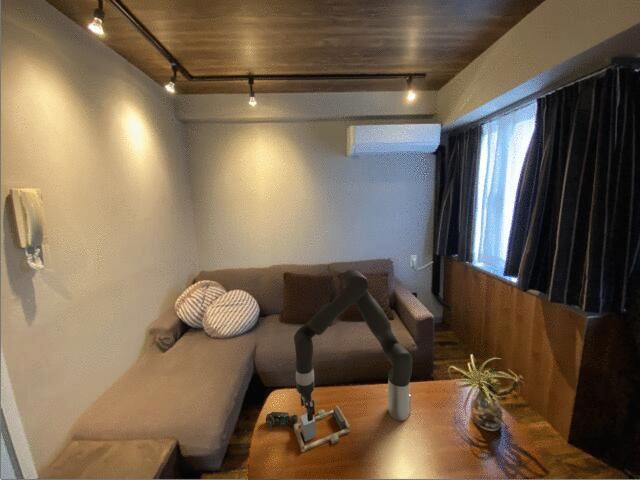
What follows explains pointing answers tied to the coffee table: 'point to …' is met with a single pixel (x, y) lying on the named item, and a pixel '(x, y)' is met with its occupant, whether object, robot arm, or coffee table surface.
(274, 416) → the stun grenade
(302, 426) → the grey rectangular block
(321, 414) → the beam frame
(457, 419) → the coffee table surface
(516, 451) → the coffee table surface
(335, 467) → the coffee table surface
